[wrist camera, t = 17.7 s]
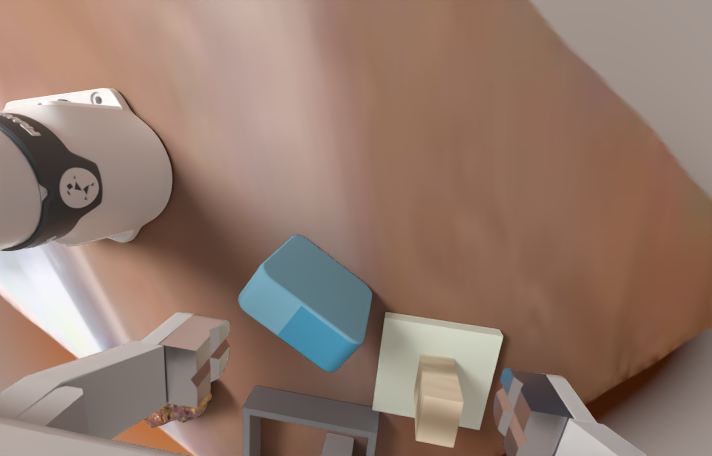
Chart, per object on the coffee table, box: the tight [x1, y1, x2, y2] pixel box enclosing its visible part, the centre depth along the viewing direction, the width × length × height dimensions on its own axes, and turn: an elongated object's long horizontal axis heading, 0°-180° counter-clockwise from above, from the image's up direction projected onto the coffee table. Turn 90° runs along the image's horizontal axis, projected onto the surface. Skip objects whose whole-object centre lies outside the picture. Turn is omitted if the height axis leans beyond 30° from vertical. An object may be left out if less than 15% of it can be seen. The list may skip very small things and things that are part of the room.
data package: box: [238, 235, 372, 372], centre depth 35 cm, size 12×4×12 cm, turn 53°
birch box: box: [414, 353, 464, 448], centre depth 38 cm, size 6×4×7 cm, turn 174°
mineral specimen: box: [143, 391, 212, 428], centre depth 47 cm, size 12×8×7 cm
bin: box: [243, 386, 379, 456], centre depth 47 cm, size 18×16×4 cm
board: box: [372, 312, 503, 430], centre depth 42 cm, size 14×14×2 cm
